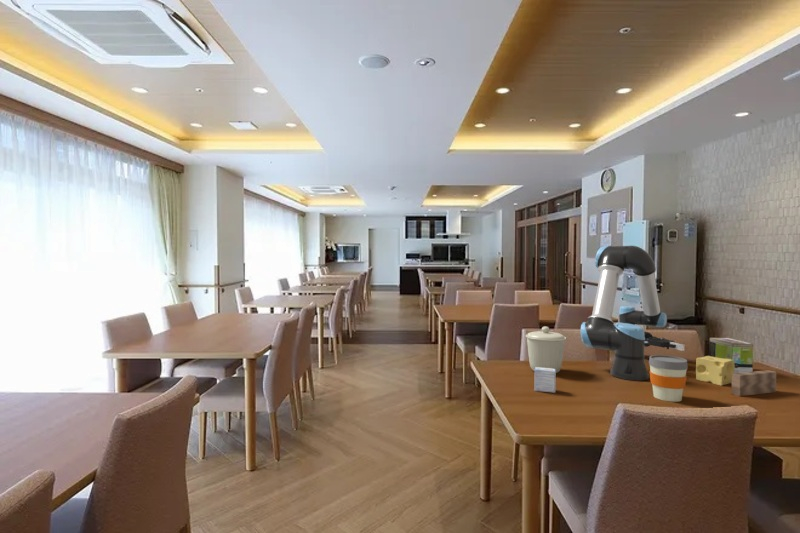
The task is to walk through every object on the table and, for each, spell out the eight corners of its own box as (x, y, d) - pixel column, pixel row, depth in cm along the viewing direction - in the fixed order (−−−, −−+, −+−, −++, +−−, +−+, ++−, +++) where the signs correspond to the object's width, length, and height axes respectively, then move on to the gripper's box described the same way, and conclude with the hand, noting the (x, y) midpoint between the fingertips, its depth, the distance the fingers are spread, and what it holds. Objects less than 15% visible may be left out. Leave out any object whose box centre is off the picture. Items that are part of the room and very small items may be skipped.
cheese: (721, 386, 175) (722, 362, 174) (694, 379, 184) (694, 357, 184) (734, 383, 179) (735, 359, 179) (706, 376, 189) (707, 354, 189)
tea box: (753, 375, 192) (754, 343, 192) (731, 375, 192) (732, 343, 192) (728, 366, 207) (729, 337, 207) (708, 366, 207) (708, 337, 207)
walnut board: (739, 396, 161) (739, 375, 161) (731, 393, 164) (731, 373, 164) (776, 391, 167) (776, 372, 167) (767, 389, 170) (767, 370, 170)
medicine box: (555, 389, 168) (555, 368, 168) (555, 393, 164) (555, 371, 163) (534, 387, 170) (534, 366, 170) (534, 391, 166) (534, 369, 166)
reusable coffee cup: (648, 390, 168) (648, 353, 167) (685, 396, 161) (686, 357, 161) (648, 399, 157) (648, 359, 157) (688, 405, 150) (689, 364, 150)
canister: (547, 378, 184) (547, 331, 183) (516, 369, 200) (517, 325, 199) (574, 373, 193) (575, 327, 192) (543, 364, 208) (544, 322, 208)
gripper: (651, 344, 221) (693, 354, 198) (631, 346, 217) (672, 356, 195) (651, 330, 221) (694, 339, 198) (631, 331, 217) (672, 340, 194)
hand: (683, 347), depth 196 cm, fingers closed
